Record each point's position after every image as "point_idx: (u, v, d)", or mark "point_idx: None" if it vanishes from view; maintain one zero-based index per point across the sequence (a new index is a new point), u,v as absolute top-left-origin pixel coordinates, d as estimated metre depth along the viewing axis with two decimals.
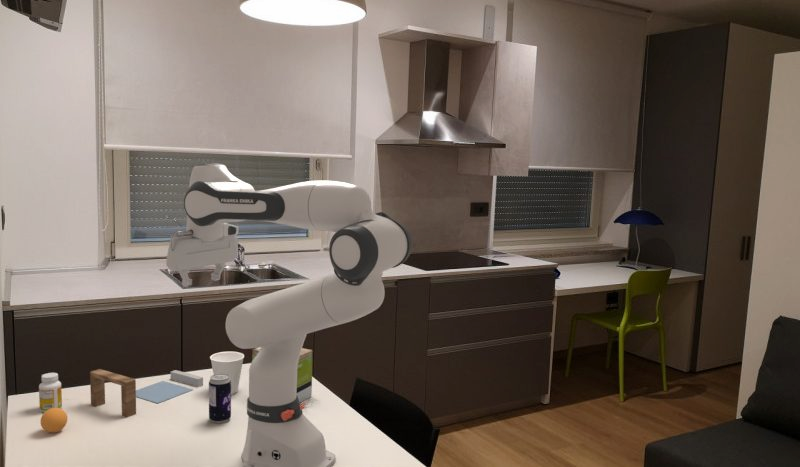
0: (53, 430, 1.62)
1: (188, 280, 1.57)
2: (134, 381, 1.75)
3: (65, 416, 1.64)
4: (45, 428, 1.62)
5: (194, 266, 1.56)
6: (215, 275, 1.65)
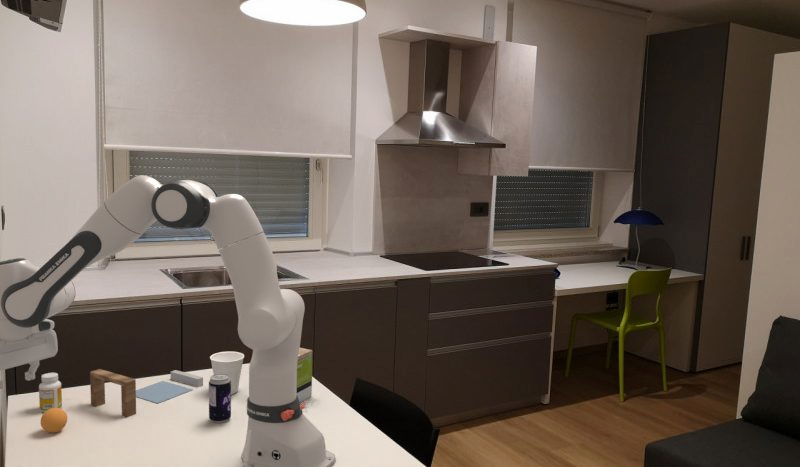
0: (53, 430, 1.62)
1: None
2: (134, 381, 1.75)
3: (65, 416, 1.64)
4: (45, 428, 1.62)
5: None
6: (28, 375, 1.57)
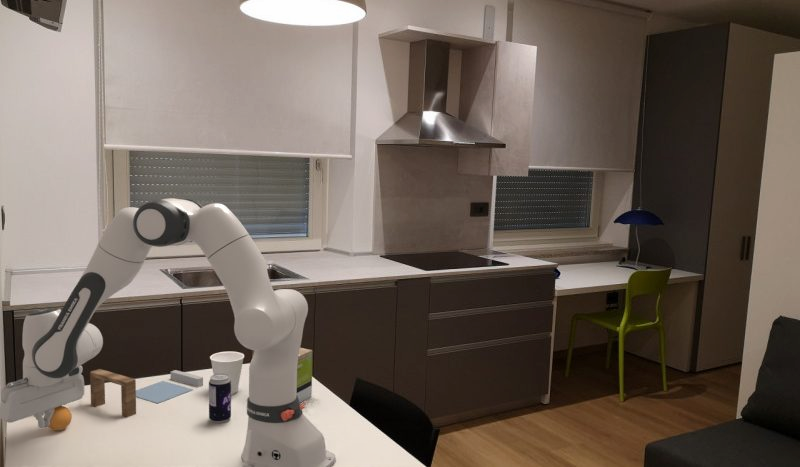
0: (55, 425, 1.63)
1: (43, 422, 1.61)
2: (134, 381, 1.75)
3: (70, 416, 1.66)
4: None
5: (31, 414, 1.57)
6: (44, 422, 1.61)
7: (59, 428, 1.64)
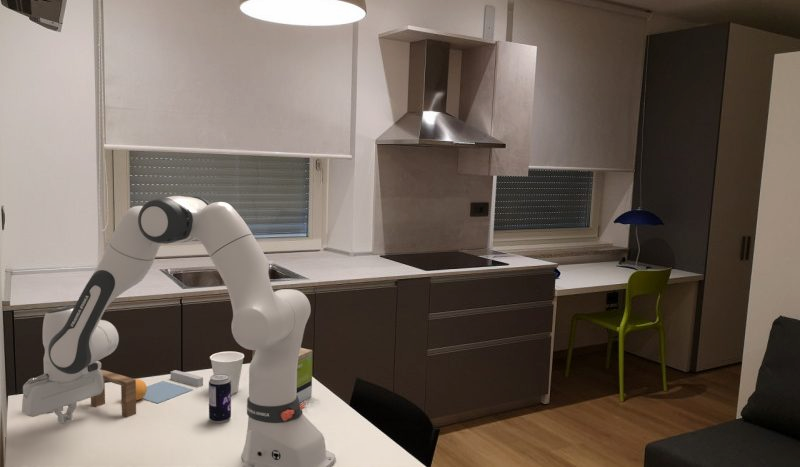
0: None
1: (63, 417, 1.65)
2: (134, 381, 1.75)
3: (145, 393, 1.86)
4: None
5: (52, 408, 1.62)
6: (66, 416, 1.66)
7: None
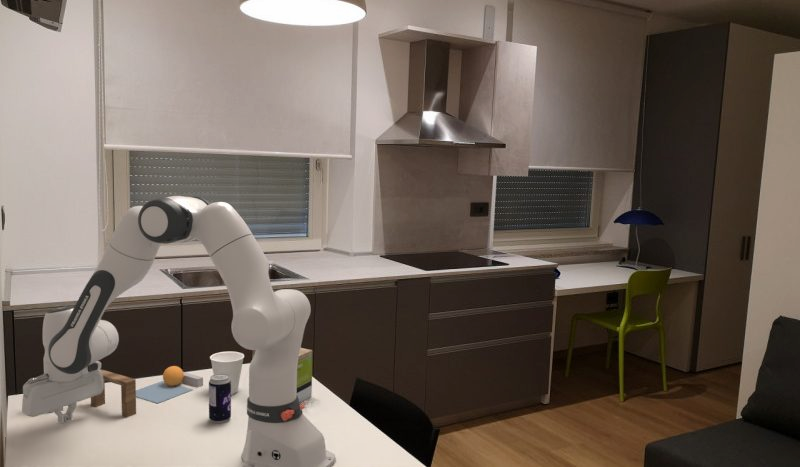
0: (173, 384, 1.96)
1: (63, 417, 1.65)
2: (134, 381, 1.75)
3: (181, 372, 1.98)
4: (167, 383, 1.96)
5: (52, 408, 1.62)
6: (66, 416, 1.66)
7: None
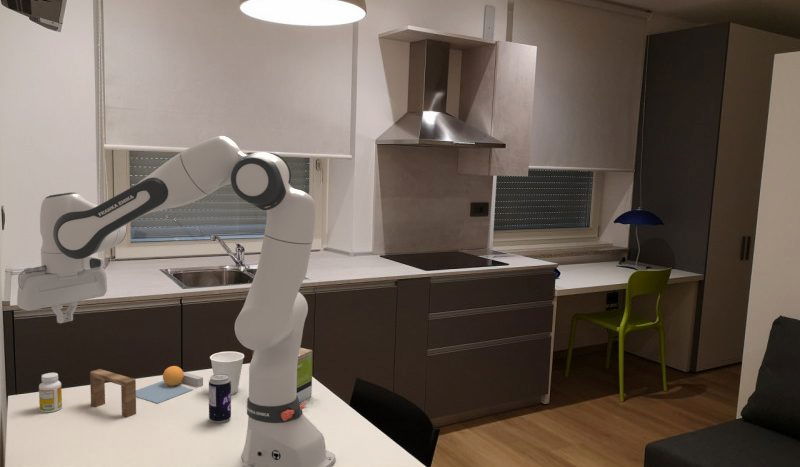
0: (173, 384, 1.96)
1: (62, 316, 1.50)
2: (134, 381, 1.75)
3: (181, 372, 1.98)
4: (167, 383, 1.96)
5: (51, 304, 1.46)
6: (66, 316, 1.51)
7: None
